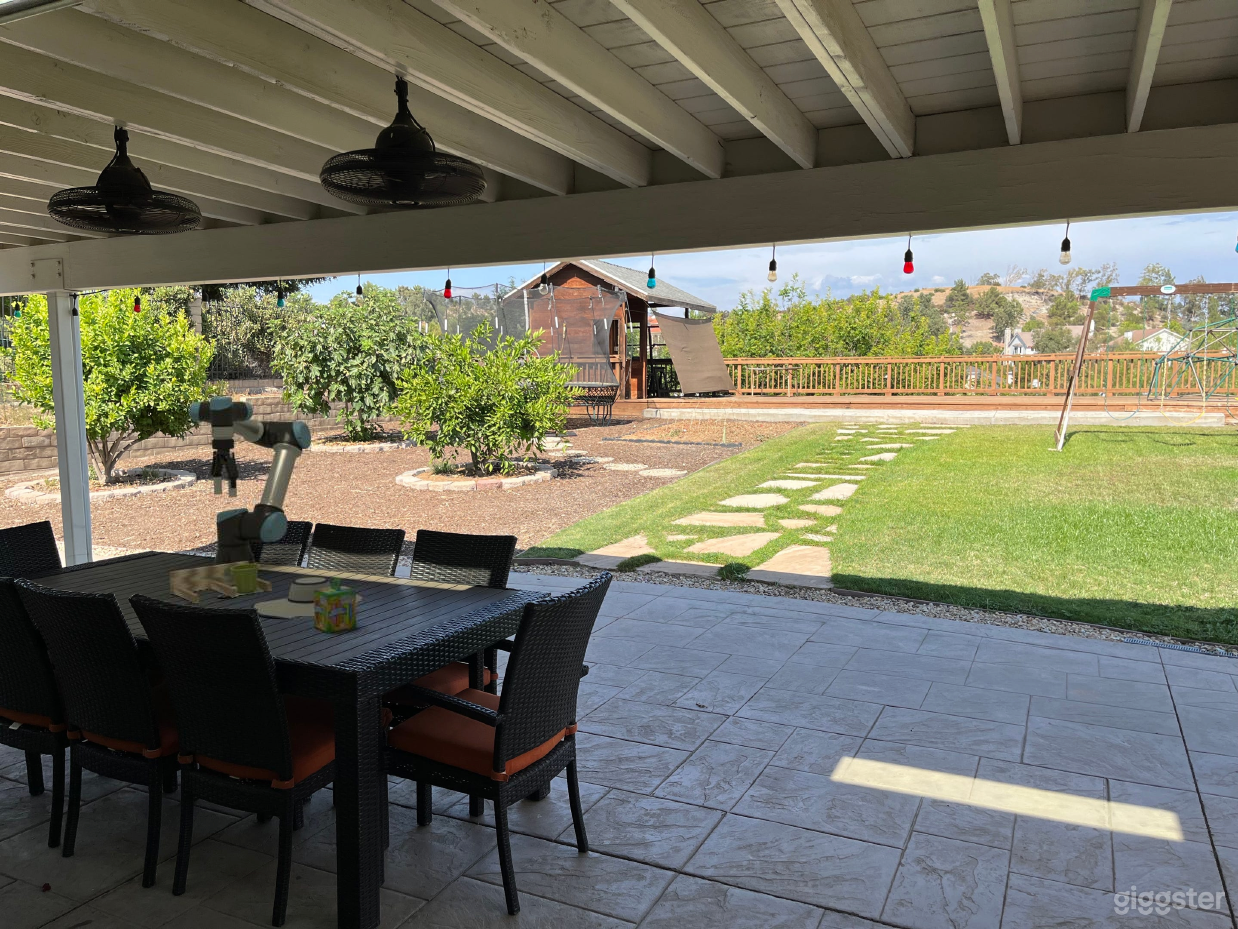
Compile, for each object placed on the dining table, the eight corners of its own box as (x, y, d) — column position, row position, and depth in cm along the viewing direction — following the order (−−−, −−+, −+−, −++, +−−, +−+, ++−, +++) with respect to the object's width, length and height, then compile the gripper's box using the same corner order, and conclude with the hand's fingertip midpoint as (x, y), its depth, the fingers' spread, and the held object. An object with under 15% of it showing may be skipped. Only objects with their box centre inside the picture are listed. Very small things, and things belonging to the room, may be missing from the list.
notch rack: (248, 582, 318) (247, 560, 317) (273, 591, 303) (272, 568, 303) (170, 594, 299) (169, 572, 298) (193, 604, 284) (192, 580, 283)
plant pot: (230, 595, 296) (228, 570, 295) (234, 588, 305) (232, 564, 304) (259, 593, 299) (257, 568, 298) (262, 586, 308) (261, 562, 307)
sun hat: (255, 627, 259) (254, 597, 258) (247, 602, 291) (245, 575, 290) (378, 612, 275) (377, 584, 274) (357, 589, 307) (356, 564, 306)
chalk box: (313, 627, 255) (312, 578, 254) (342, 622, 261) (341, 573, 260) (328, 634, 248) (326, 583, 247) (357, 627, 255) (356, 578, 254)
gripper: (199, 437, 323) (202, 494, 325) (225, 440, 306) (228, 499, 308) (219, 437, 329) (222, 492, 330) (247, 439, 311) (249, 497, 313)
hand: (225, 495), depth 319 cm, fingers open, 13 cm apart
